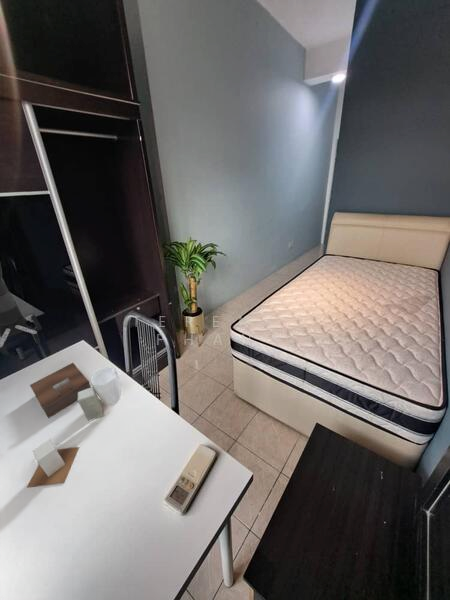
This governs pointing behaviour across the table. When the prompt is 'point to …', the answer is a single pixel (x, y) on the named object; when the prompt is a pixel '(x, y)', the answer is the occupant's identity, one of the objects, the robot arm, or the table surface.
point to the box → (90, 403)
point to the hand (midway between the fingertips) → (22, 347)
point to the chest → (64, 402)
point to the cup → (107, 385)
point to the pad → (60, 475)
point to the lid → (58, 385)
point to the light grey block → (48, 457)
